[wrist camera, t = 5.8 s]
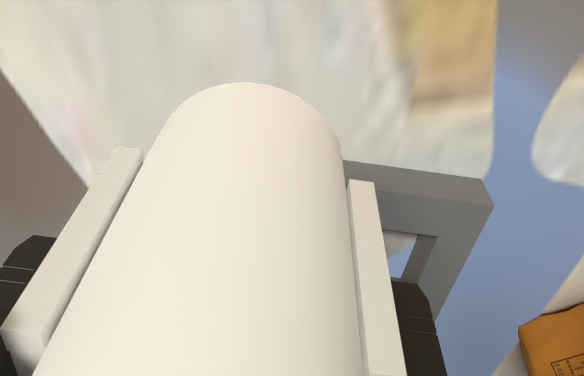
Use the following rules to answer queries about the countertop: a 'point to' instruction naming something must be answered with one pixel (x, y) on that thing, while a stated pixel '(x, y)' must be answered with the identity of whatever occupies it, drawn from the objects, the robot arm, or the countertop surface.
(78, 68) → the countertop surface
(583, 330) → the coffee package
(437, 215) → the socket plate
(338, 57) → the countertop surface
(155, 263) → the can
